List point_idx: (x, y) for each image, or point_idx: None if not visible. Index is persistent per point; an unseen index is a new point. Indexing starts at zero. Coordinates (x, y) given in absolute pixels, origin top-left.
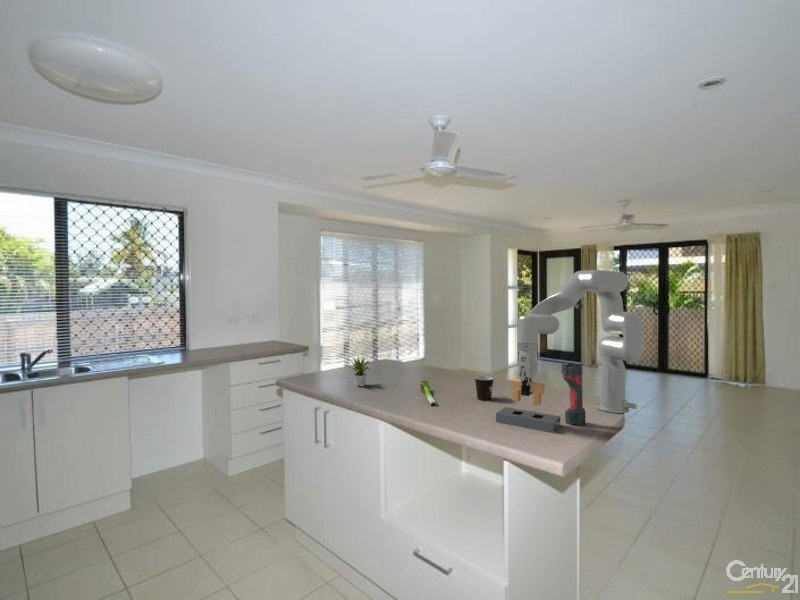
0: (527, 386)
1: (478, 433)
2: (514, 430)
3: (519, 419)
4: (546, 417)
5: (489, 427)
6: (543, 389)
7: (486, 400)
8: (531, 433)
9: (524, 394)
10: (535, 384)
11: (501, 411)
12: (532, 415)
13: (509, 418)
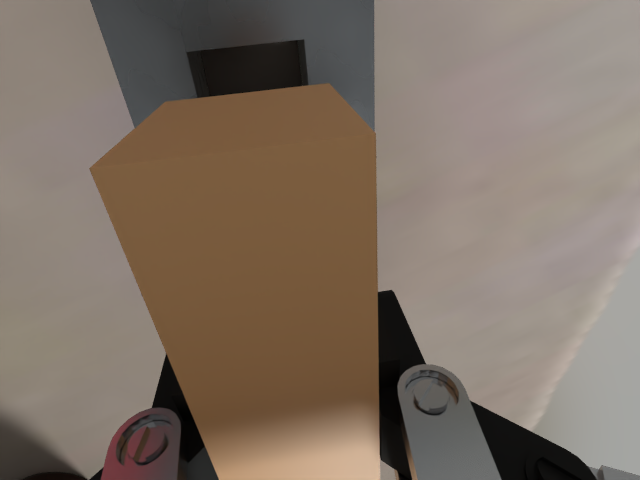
0: (392, 371)
1: (570, 264)
2: (447, 158)
3: None
4: (222, 8)
5: (463, 273)
6: (215, 115)
7: (71, 475)
8: (452, 39)
9: None
10: (377, 309)
11: None
12: None
13: None
